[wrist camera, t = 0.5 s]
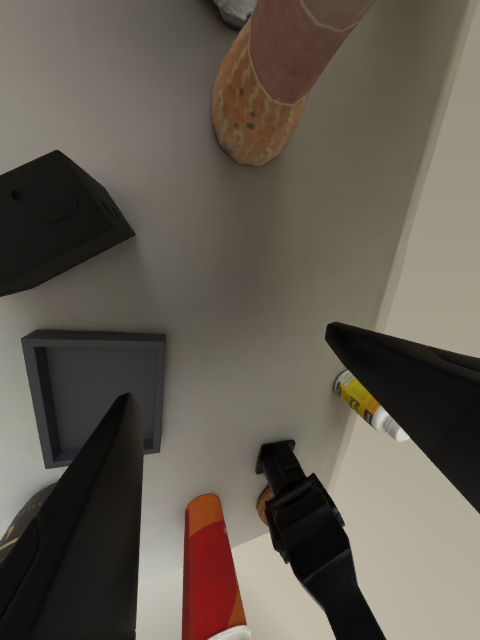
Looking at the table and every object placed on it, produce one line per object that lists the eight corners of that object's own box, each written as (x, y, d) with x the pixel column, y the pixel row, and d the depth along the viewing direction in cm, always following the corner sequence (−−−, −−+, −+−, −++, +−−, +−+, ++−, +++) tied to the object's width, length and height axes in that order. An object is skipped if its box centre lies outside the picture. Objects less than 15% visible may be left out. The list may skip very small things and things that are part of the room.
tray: (161, 438, 27) (159, 452, 25) (55, 451, 23) (45, 469, 21) (166, 333, 22) (165, 341, 20) (36, 329, 19) (20, 338, 17)
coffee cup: (205, 525, 36) (220, 691, 23) (167, 518, 33) (159, 709, 19) (235, 494, 36) (270, 644, 22) (201, 483, 32) (216, 654, 19)
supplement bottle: (328, 380, 33) (387, 432, 23) (354, 361, 33) (423, 405, 24) (338, 400, 35) (395, 454, 26) (362, 381, 35) (427, 428, 26)
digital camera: (94, 169, 16) (39, 117, 10) (137, 234, 18) (115, 226, 12) (-29, 228, 15) (-176, 213, 9) (32, 288, 18) (-51, 310, 11)
